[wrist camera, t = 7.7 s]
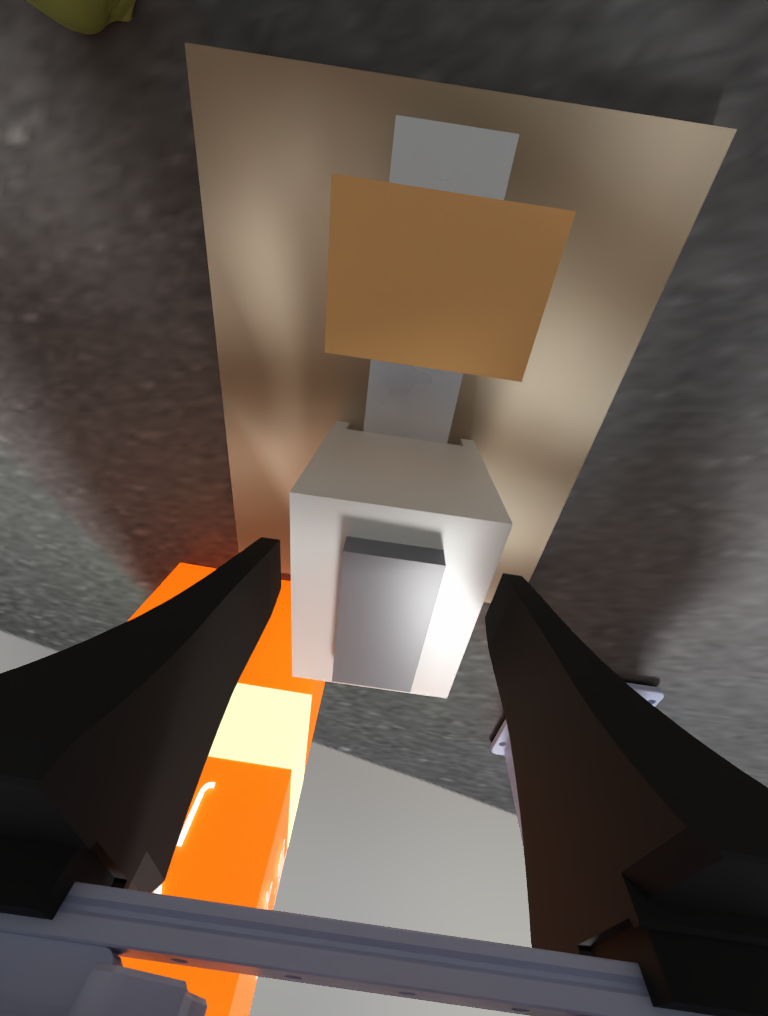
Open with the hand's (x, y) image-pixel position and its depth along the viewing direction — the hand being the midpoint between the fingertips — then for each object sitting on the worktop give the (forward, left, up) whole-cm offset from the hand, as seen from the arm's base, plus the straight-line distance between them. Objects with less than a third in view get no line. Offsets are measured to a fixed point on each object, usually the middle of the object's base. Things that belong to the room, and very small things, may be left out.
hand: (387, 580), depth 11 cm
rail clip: (+8, 0, -3) cm, 9 cm away
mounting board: (+4, 0, -5) cm, 7 cm away
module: (0, 0, -4) cm, 4 cm away
